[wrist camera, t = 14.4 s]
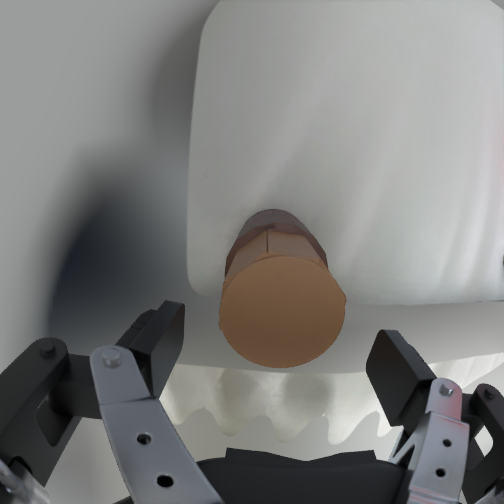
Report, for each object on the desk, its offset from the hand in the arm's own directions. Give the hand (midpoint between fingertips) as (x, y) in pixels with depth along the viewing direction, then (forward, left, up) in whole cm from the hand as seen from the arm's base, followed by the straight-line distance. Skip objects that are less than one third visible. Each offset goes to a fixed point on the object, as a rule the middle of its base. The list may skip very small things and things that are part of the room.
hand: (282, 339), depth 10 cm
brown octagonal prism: (0, 0, -8) cm, 8 cm away
